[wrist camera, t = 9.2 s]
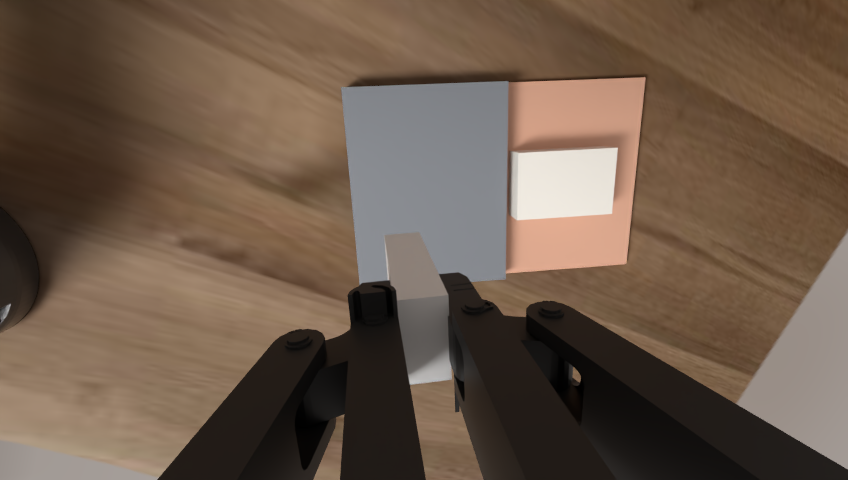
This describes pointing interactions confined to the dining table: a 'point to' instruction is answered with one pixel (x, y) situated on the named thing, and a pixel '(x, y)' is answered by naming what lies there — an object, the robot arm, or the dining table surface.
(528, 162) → the tile
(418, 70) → the dining table surface
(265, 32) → the dining table surface
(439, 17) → the dining table surface
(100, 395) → the dining table surface
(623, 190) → the mat
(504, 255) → the grey slab
